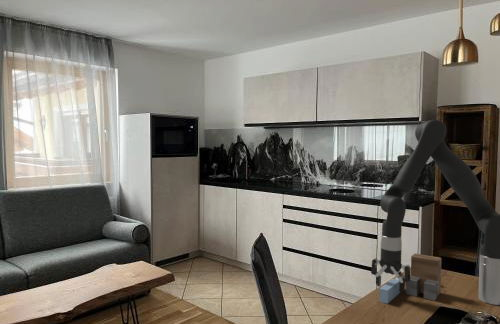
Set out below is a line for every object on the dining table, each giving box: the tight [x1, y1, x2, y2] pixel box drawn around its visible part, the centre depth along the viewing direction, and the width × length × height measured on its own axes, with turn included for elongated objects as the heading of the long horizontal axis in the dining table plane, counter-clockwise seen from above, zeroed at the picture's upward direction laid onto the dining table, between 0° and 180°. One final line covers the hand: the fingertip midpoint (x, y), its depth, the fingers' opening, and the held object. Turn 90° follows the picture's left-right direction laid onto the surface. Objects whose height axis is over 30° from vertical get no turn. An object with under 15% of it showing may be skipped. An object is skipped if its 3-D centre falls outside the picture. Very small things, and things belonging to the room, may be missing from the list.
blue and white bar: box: [379, 277, 401, 304], centre depth 150 cm, size 19×3×5 cm, turn 141°
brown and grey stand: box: [405, 253, 442, 302], centre depth 152 cm, size 10×11×14 cm
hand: (389, 288), depth 149 cm, fingers open, 8 cm apart
